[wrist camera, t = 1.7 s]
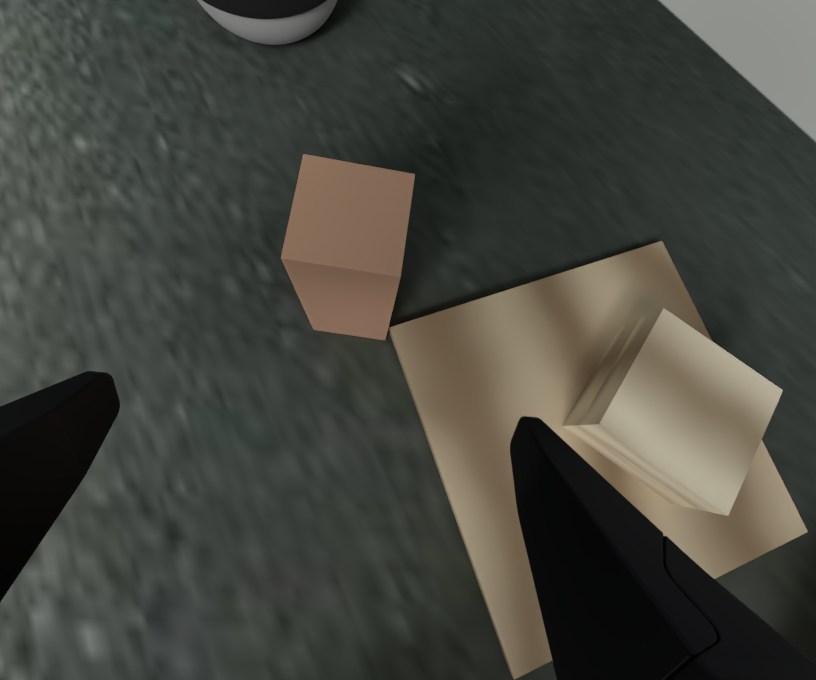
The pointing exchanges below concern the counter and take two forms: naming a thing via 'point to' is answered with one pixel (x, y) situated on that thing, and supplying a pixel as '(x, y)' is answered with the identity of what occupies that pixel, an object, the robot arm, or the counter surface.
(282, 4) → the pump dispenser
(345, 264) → the post
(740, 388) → the slab top
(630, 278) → the beige square cloth
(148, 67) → the counter surface
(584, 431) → the slab bottom
